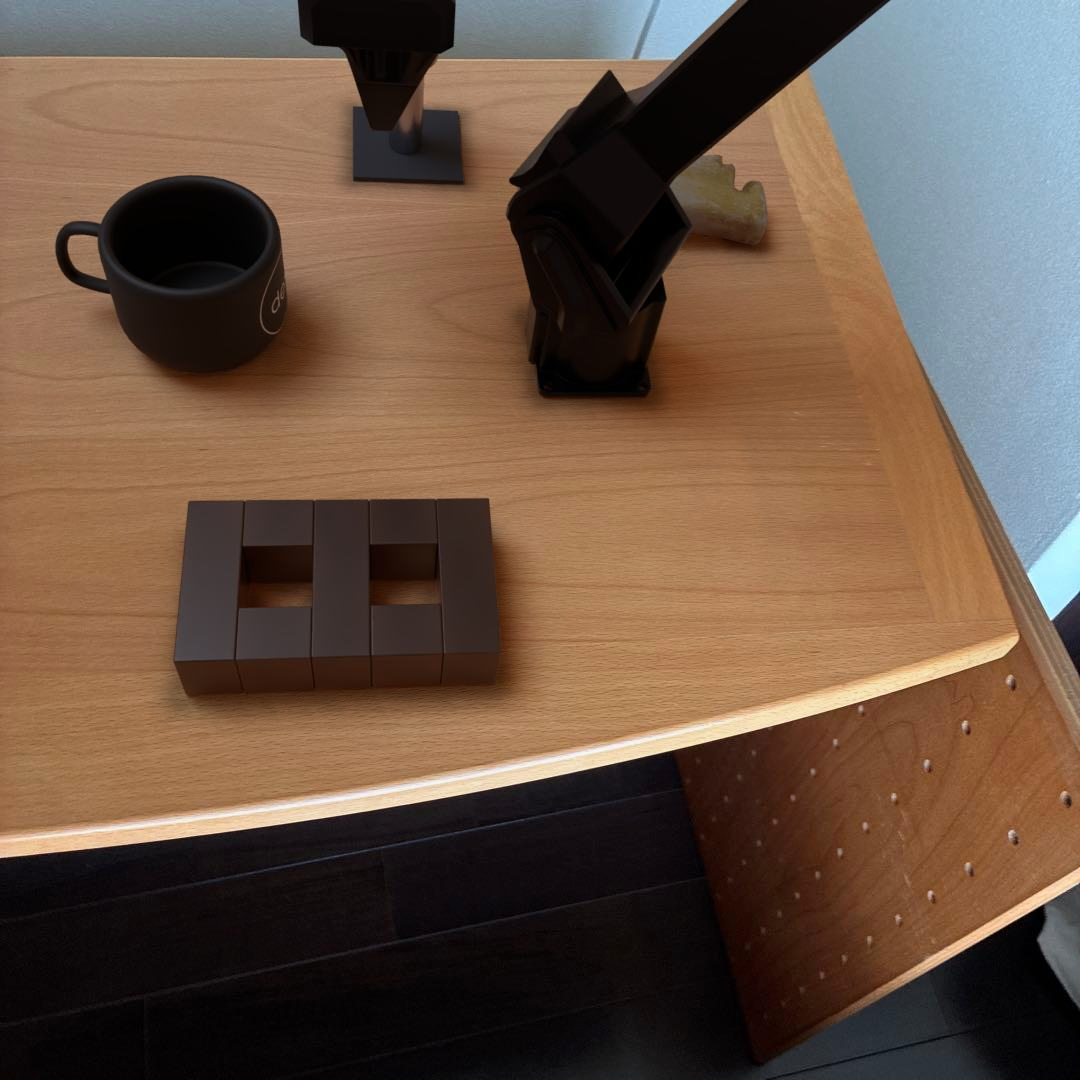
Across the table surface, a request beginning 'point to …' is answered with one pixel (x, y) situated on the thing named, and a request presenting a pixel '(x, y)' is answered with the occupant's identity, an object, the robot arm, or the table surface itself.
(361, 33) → the robot arm
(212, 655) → the board
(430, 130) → the pad
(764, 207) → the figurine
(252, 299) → the mug
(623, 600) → the table surface
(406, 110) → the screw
